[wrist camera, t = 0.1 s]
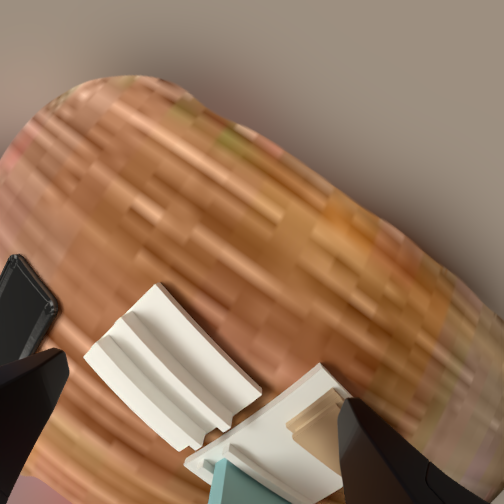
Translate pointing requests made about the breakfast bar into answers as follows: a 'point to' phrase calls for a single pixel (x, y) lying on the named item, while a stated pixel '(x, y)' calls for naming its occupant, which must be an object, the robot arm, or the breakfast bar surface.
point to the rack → (276, 445)
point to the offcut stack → (320, 429)
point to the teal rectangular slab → (239, 487)
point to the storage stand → (171, 371)
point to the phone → (23, 310)
